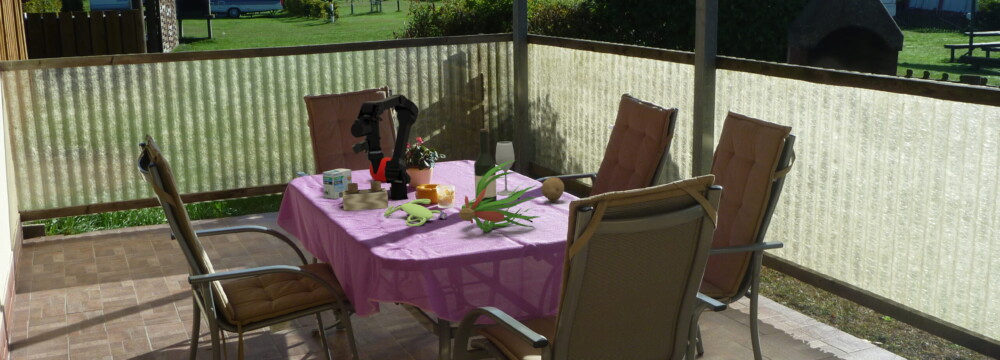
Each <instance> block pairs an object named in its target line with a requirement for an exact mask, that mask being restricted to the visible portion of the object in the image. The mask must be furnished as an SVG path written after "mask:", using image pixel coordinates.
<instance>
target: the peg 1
mask: <svg viewBox="0 0 1000 360" xmlns="http://www.w3.org/2000/svg"><path fill="white" fill-rule="evenodd" d="M358 184H359V183H357V182H352V183H348V184H347V186H348V193H358V190H359V185H358Z"/></svg>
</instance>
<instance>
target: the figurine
mask: <svg viewBox="0 0 1000 360" xmlns="http://www.w3.org/2000/svg"><path fill="white" fill-rule="evenodd" d="M431 202H432V201H431V199H429V198H418V199H417V198H416V199H413V200H411V201H409V202H406V203H402V204H401V205H399V206H396V207H395V206H394V204H391V205H390V206H388V208H386V211H385V212H384V214H383V217H388V216H391V215H392V214H393V213H395V212H397V211H399V210H401V209H402V210H403V211H404V212H405V213H406V214H408V215H409V216H408V217H407V219H406V220H405V223H406V226H407V227H411V226H417V227H420V226H422V225H424V224H425V223H426V221H428V222H429V221H430V220H431V219H433V218H434V214H439V215H438V218H440V219H443V220H446V219H447V218H448V217H447V216H448V213H446V212H444V211H442V210H437V209H436V210H431V209H428V208H427V207H426V206H422V205H420V204H423V205H429V204H431ZM394 207H395V208H394ZM413 218H416V219H413ZM411 219H412V220H411ZM416 221H419V222H417V223H412V222H416Z"/></svg>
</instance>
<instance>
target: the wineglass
mask: <svg viewBox="0 0 1000 360" xmlns="http://www.w3.org/2000/svg"><path fill="white" fill-rule="evenodd" d="M513 145H514V144H513V141H498V142H497V143H496V149H495V164H496V163H497V164H496V166H498V165H501V164H503V163H506V162H509V161H512V162H510V163H508V164H506V165H504V166H502V167H501V168H507V169H508V168H509V166H510V165H511V164H512V163H513V162H514V161H513V160H515V151H514V147H513ZM505 158H506V159H505ZM503 159H504V160H503ZM501 160H502V161H501ZM498 162H499V163H498ZM514 163H515V162H514ZM512 166H513V165H512ZM512 166H511V167H510V168H509V169H508V170H510V169H511V168H512ZM507 169H503V170H502V171H503V173H507V172H509V171H508V170H507ZM504 171H505V172H504ZM507 175H508V174H507ZM507 175H504V190H503V191H499V192H496V195H499V196H509V195H510V194H511V193H512V192H513V191H514V190H513V191H511V190H508V180H507V178H508V176H507ZM515 192H516V191H515ZM515 192H514V193H515ZM514 193H513V194H514Z"/></svg>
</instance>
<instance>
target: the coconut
mask: <svg viewBox="0 0 1000 360" xmlns="http://www.w3.org/2000/svg"><path fill="white" fill-rule="evenodd" d="M540 190H541V194H542V195H543V197H545V198H546V199H547V200H548V201H550V202H551V203H555V202H557V201H558V200H560V199H561V197H562V195H563V194H564V191H565V184H564V182H563V181H562V180H561V179H560V178H559V177H556V176H550V177H547V178H546V179H545V181H543V183H542V185H541V189H540Z"/></svg>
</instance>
